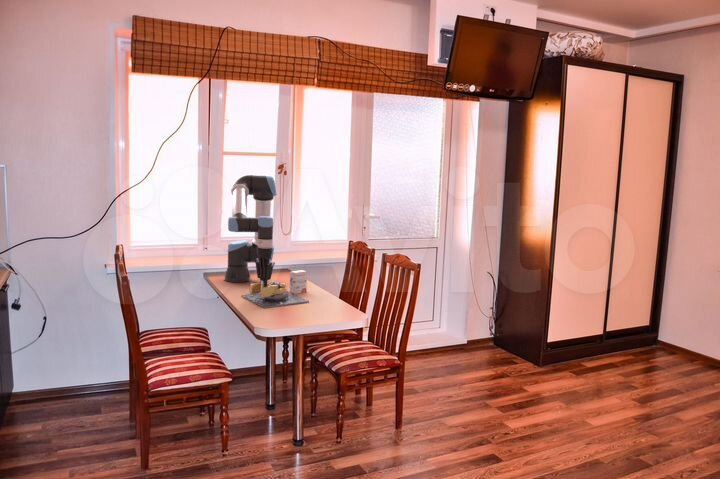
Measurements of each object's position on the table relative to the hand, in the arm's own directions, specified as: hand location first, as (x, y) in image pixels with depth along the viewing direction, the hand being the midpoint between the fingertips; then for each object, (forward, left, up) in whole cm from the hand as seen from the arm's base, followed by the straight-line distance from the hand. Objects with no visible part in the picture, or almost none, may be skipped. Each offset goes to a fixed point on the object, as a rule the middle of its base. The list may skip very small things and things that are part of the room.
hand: (263, 292), depth 297 cm
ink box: (-14, +28, -6) cm, 32 cm away
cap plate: (-5, +9, -6) cm, 12 cm away
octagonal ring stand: (-4, +5, -1) cm, 7 cm away
